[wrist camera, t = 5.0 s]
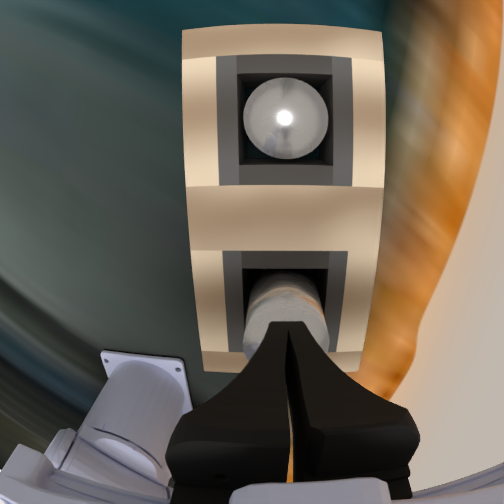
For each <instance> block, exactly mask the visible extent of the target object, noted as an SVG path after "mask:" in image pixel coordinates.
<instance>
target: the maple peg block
mask: <svg viewBox="0 0 504 504" xmlns="http://www.w3.org/2000/svg"><path fill="white" fill-rule="evenodd" d="M276 78H294V79H298V80H301V81H303V82H305V83H307V84H309V85H310V86H312V87H313V88H314V89H319V94H320V96H321V97H322V99H323V101H324V102H325V105H326V108H327V112H328V127H327V131H326V134H325V136H324V138H323V140H322V141H321V143H320V144H319V159H306V158H294V159H280V158H247V146H246V130H245V126H244V120H243V116H244V108H245V105H246V99H245V88H257V87H259V86H260V85H261V84H263V83H265V82H267V81H269V80H272V79H276ZM182 102H183V136H184V160H185V179H186V196H187V211H188V225H189V237H190V249H191V260H192V271H193V281H194V291H195V300H196V309H197V318H198V326H199V335H200V343H201V350H202V358H203V365H204V371H213V372H233V373H240V372H241V371H242V370H243V369H244V367H245V366H246V365H247V363H248V362H249V361H248V360H247V358H246V356H245V354H244V350H243V337H244V331H245V324H246V317H247V310H248V304H249V297H250V276H249V268H261V269H315V284H316V287H317V291H318V294H319V298H320V302H321V306H322V310H323V314H324V318H325V322H326V326H327V330H328V334H329V349H328V352H327V355H328V357H329V358H330V359H331V360H332V361H333V362H334V363H335V364H336V365H337V366H338V367H339V368H340V369H341V370H342V371H343V372H353V371H358V369H359V365H360V360H361V355H362V350H363V345H364V340H365V335H366V330H367V324H368V319H369V313H370V307H371V300H372V294H373V287H374V280H375V273H376V265H377V257H378V249H379V239H380V229H381V218H382V206H383V192H384V173H385V141H386V105H385V75H384V57H383V44H382V32H376V31H370V30H362V29H354V28H345V27H335V26H322V25H304V24H248V25H230V26H217V27H206V28H197V29H189V30H182Z"/></svg>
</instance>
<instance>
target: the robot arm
mask: <svg viewBox="0 0 504 504" xmlns="http://www.w3.org/2000/svg"><path fill="white" fill-rule="evenodd" d="M101 358H102V361H103V364H104V367H105V370H106V373H107V376H108V381H107V382H106V384H105V386H104V387H103V389H102V391H101V392H100V394H99V396H98V397H97V399H96V401H95V402H94V404H93V406H92V408H91V409H90V411H89V413H88V415H87V416H86V418H85V420H84V422H83V423H82V425H81V427H80V429H79V430H78V431H77V432H75V431H74V430H72V429H71V428H68V429H61V430H59V432H58V433H57V434H56V436H55V437H54V439H53V440H52V442H51V444H50V445H49V447H48V448H47V450H46V452H45V453H44V454H42V453H40V452H38V451H36V450H33V449H31V448H29V447H26V446H24V445H22V444H18V445H17V447H16V449H15V450H14V452H13V453H12V455H11V456H10V458H9V459H8V461H7V463H6V464H5V466H4V467H3V469H2V471H1V472H0V499H1V500H2V501H3V502H4V503H5V504H504V462H503V463H501V464H499V465H496V466H494V467H491V468H489V469H486V470H484V471H481V472H478V473H476V474H473V475H470V476H467V477H464V478H461V479H458V480H455V481H452V482H449V483H445V484H442V485H438V486H435V487H432V488H428V489H424V490H420V491H416V492H412V491H411V487H410V484H409V480H408V477H409V476H410V469H409V466H408V463H409V462H410V460H411V458H412V456H413V455H414V453H415V451H416V449H417V447H418V445H419V442H420V434H419V431H418V429H417V426H416V424H415V422H414V420H413V418H412V416H411V415H410V413H409V411H408V410H407V409H406V408H404V407H401V406H399V405H397V404H394V403H392V402H389V401H387V400H385V399H383V398H381V397H379V396H378V395H376V394H374V393H372V392H370V391H369V390H367V389H366V388H364V387H363V386H361V385H360V384H358V383H357V382H355V381H354V380H353V379H351V378H350V377H349V376H348V375H346V374H345V373H344V372H343V371H342V370H341V369H340V368H339V367H338V366H337V365H336V364H335V363H334V362H333V361H332V360H331V359H330V358H329V357H328V355H327V354H326V353H325V352H324V351H323V349H322V348H321V347H320V345H319V344H318V343H317V341H316V340H315V339H314V337H313V336H312V334H311V333H310V331H309V329H308V328H307V326H306V324H305V323H304V322H303V321H271V322H270V323H269V324H268V328H267V331H266V334H265V336H264V338H263V340H262V342H261V343H260V345H259V347H258V349H257V350H256V352H255V354H254V355H253V356H252V358H251V359H250V361H249V362H248V363H247V365H246V366H245V367H244V369H243V370H242V371H241V372H240V373H239V374H238V375H237V376H236V377H235V378H234V379H233V380H232V381H231V382H230V383H229V384H228V385H227V386H226V387H225V388H224V389H223V390H221V391H220V392H219V393H218V394H216V395H215V396H214V397H212V398H211V399H209V400H208V401H207V402H205V403H204V404H202V405H200V406H199V407H197V408H195V409H193V408H192V403H191V398H190V393H189V388H188V383H187V378H186V372H185V367H184V362H183V361H182V360H181V359H178V358H168V357H157V356H147V355H138V354H130V353H121V352H114V351H106V350H103V351H102V352H101ZM106 359H107V360H106ZM177 367H178V368H180V369H178V368H177ZM286 386H287V393H288V400H289V407H290V415H291V422H292V432H293V483H286V481H287V473H288V464H289V454H290V426H289V418H288V408H287V396H286ZM171 476H172V478H173V480H174V482H175V485H174V488H171V487H169V486H167V485H168V481H169V479H170V478H171Z"/></svg>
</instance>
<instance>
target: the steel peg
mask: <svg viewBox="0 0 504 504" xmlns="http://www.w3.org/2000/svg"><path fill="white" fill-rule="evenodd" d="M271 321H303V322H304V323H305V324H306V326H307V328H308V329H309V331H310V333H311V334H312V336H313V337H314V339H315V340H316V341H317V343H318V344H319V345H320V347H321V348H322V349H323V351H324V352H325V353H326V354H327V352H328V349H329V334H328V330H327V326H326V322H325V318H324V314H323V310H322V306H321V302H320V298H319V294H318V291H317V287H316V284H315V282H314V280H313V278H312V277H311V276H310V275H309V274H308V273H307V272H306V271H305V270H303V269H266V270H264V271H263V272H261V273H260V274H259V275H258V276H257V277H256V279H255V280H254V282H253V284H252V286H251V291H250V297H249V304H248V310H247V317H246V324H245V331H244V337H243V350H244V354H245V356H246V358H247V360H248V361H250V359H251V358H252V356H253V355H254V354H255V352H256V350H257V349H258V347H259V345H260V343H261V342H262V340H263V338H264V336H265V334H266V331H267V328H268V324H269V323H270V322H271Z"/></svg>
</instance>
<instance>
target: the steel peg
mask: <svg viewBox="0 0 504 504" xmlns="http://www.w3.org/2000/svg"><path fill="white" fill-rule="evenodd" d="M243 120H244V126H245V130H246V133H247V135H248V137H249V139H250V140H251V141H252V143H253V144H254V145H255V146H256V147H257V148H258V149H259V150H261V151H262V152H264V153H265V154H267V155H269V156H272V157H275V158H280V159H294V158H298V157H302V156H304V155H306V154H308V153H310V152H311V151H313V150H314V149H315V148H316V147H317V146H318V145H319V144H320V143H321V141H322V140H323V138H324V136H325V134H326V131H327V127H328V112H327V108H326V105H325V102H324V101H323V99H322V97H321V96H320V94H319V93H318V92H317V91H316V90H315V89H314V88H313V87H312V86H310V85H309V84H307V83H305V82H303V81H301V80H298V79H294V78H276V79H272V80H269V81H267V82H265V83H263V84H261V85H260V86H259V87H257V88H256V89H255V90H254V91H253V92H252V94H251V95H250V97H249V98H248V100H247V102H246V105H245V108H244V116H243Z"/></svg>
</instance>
